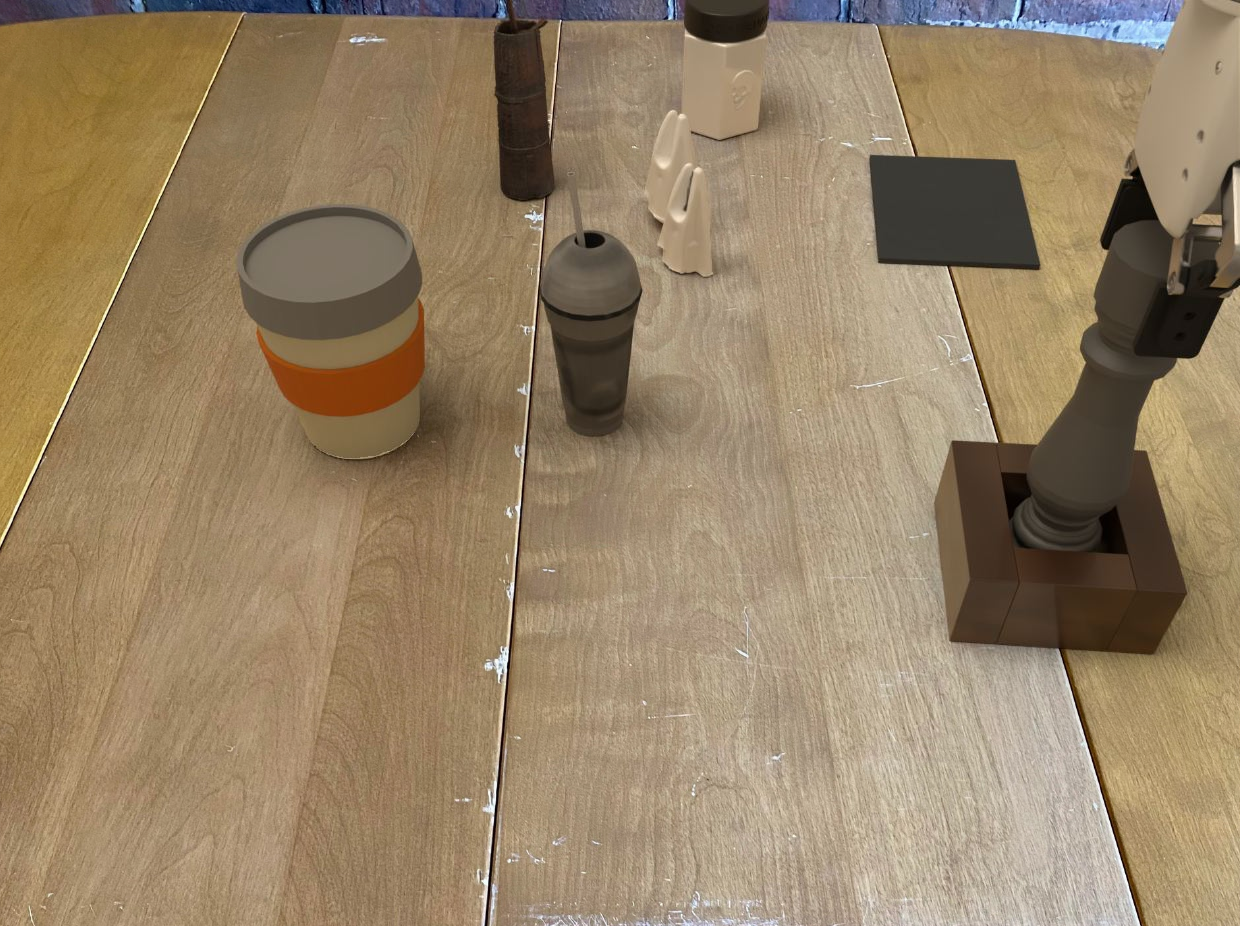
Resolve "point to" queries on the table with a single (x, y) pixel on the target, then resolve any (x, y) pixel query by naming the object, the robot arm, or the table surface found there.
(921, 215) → the mat
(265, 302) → the reusable coffee cup
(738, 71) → the jar
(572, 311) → the beverage cup
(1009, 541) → the holder
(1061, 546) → the candle holder
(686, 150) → the shaker set
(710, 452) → the table surface
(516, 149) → the butter churn
